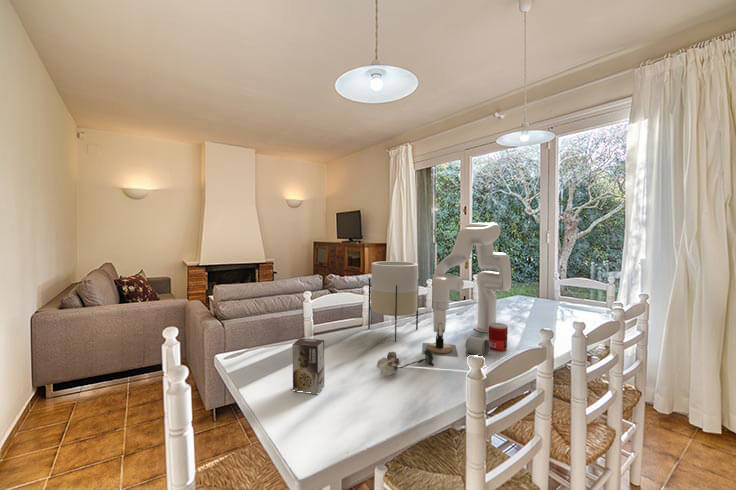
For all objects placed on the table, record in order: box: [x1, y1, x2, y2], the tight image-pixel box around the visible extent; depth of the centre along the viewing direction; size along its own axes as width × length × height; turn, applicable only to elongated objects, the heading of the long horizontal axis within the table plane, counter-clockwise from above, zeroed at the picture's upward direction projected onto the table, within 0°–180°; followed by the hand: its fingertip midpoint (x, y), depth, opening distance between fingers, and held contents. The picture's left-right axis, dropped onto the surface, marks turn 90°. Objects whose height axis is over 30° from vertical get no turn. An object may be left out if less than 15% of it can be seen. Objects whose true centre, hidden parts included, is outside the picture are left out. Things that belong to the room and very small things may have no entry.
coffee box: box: [291, 337, 325, 394], centre depth 114 cm, size 9×6×16 cm
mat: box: [421, 342, 459, 358], centre depth 152 cm, size 15×15×1 cm
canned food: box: [487, 322, 509, 353], centre depth 155 cm, size 8×8×11 cm
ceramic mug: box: [465, 336, 491, 358], centre depth 146 cm, size 11×8×8 cm
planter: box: [367, 260, 420, 343], centre depth 175 cm, size 26×27×36 cm
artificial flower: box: [376, 349, 435, 376], centre depth 131 cm, size 9×22×10 cm, turn 106°
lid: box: [427, 334, 452, 354], centre depth 152 cm, size 11×11×6 cm
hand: (439, 345), depth 152 cm, fingers closed on lid, 2 cm apart
